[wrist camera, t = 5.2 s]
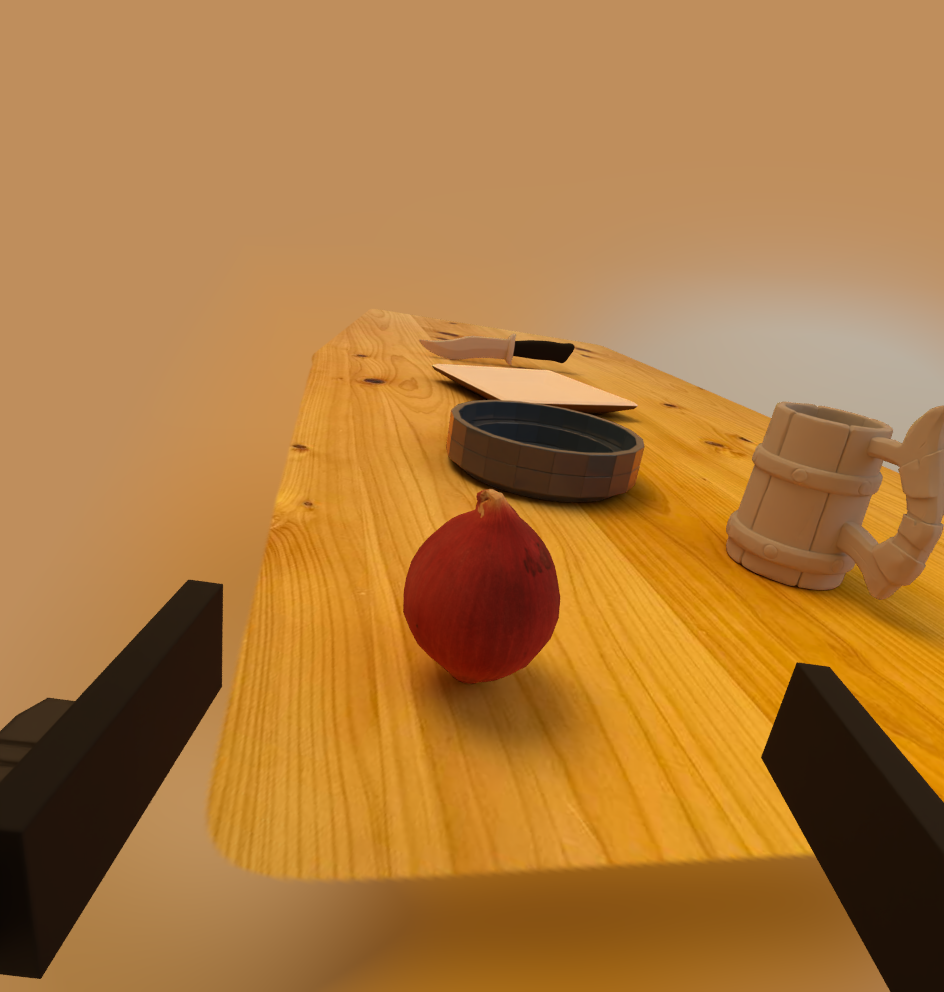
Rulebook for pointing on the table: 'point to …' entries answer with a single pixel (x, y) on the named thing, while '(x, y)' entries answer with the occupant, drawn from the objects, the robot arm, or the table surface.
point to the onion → (482, 593)
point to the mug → (837, 499)
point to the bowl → (543, 450)
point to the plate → (534, 388)
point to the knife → (499, 348)
